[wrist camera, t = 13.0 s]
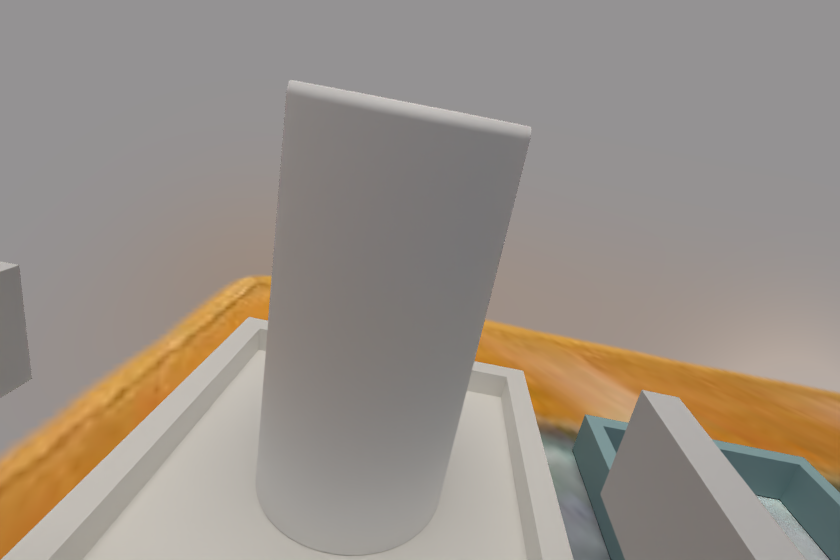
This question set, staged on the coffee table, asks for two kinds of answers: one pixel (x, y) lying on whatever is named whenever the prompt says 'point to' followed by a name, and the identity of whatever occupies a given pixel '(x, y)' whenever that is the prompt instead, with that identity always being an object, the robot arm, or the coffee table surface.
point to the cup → (376, 309)
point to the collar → (761, 469)
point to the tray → (236, 479)
